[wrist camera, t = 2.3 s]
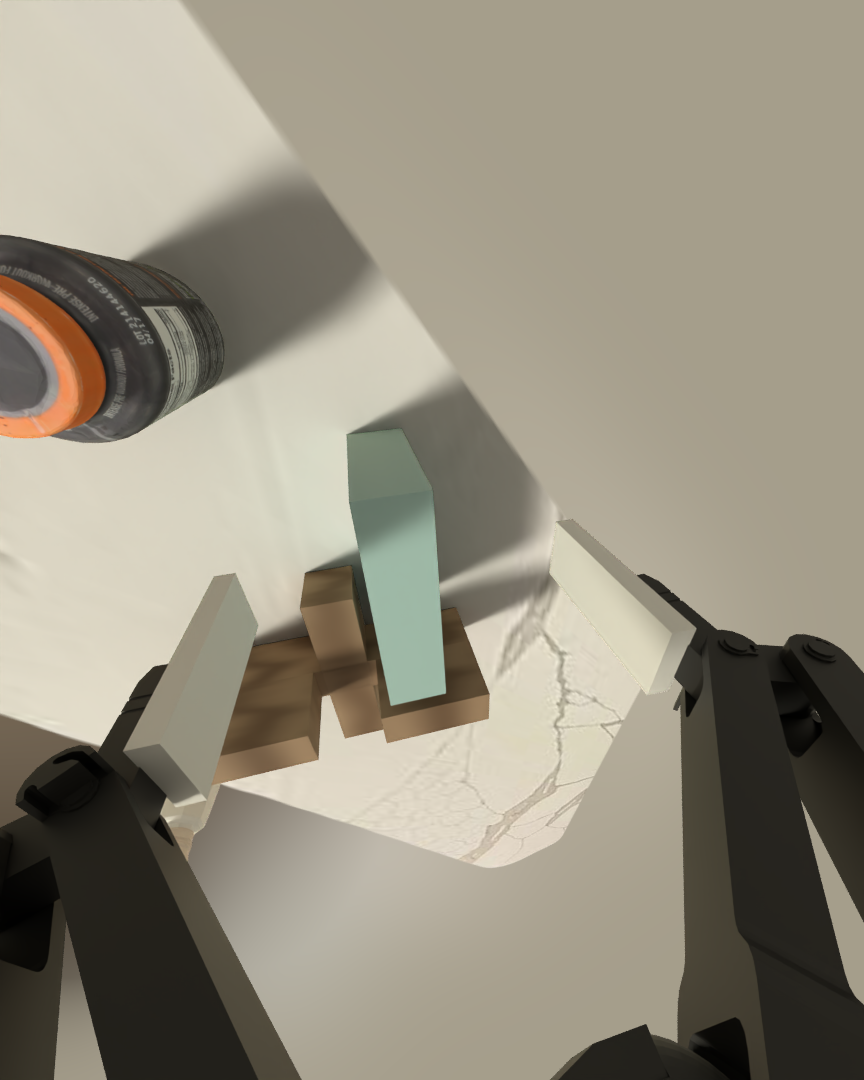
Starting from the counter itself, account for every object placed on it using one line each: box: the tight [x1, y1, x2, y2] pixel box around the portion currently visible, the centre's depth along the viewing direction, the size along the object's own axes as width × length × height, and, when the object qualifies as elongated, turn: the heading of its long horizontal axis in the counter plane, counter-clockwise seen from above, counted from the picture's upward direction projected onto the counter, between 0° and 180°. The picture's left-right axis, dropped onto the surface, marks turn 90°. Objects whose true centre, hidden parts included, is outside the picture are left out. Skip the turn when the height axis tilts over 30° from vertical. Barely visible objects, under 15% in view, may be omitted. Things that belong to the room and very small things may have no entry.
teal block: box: [347, 428, 446, 706], centre depth 23 cm, size 14×4×10 cm, turn 3°
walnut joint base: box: [212, 566, 490, 785], centre depth 28 cm, size 20×16×9 cm
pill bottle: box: [0, 235, 224, 443], centre depth 14 cm, size 6×6×11 cm
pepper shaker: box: [160, 783, 221, 862], centre depth 29 cm, size 5×5×11 cm
